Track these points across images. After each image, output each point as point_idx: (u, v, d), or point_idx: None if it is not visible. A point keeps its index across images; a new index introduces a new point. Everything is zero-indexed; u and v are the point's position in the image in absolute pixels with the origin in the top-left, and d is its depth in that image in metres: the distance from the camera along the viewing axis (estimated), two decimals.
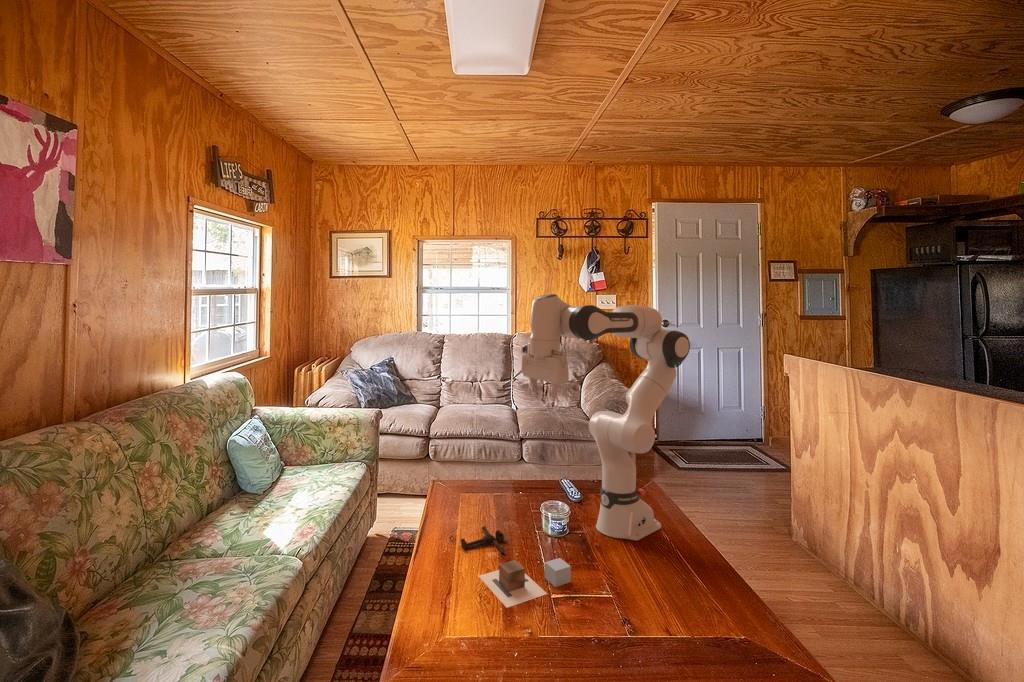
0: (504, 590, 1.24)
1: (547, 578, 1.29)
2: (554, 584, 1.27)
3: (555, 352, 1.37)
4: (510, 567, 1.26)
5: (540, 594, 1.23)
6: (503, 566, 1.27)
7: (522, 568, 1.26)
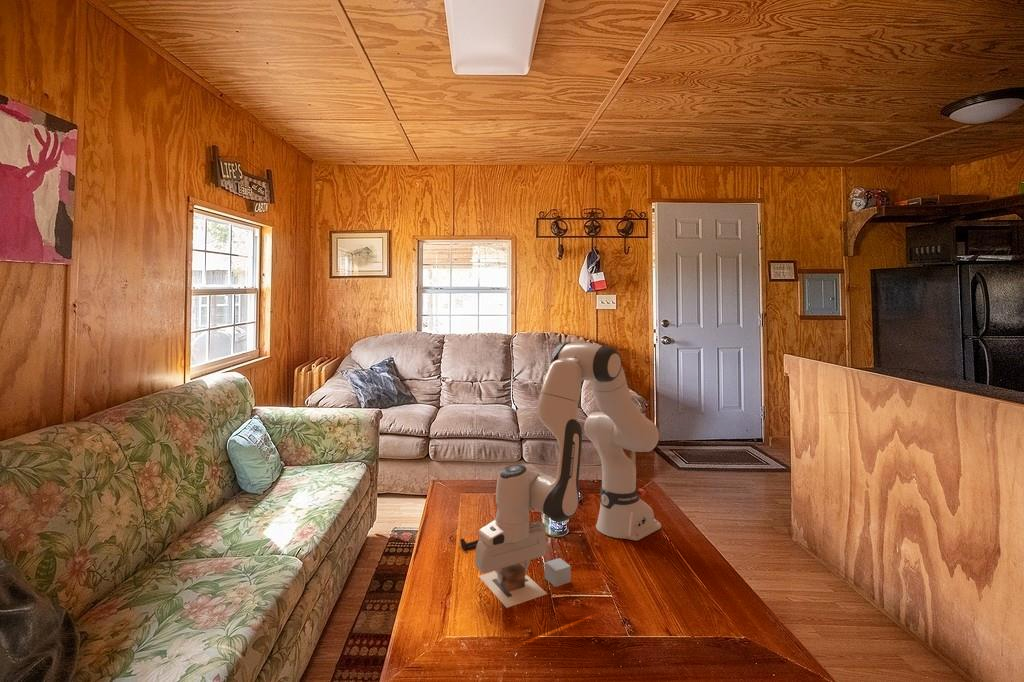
0: (504, 590, 1.24)
1: (547, 578, 1.29)
2: (554, 584, 1.27)
3: (533, 525, 1.29)
4: (510, 567, 1.26)
5: (540, 594, 1.23)
6: None
7: (522, 568, 1.26)
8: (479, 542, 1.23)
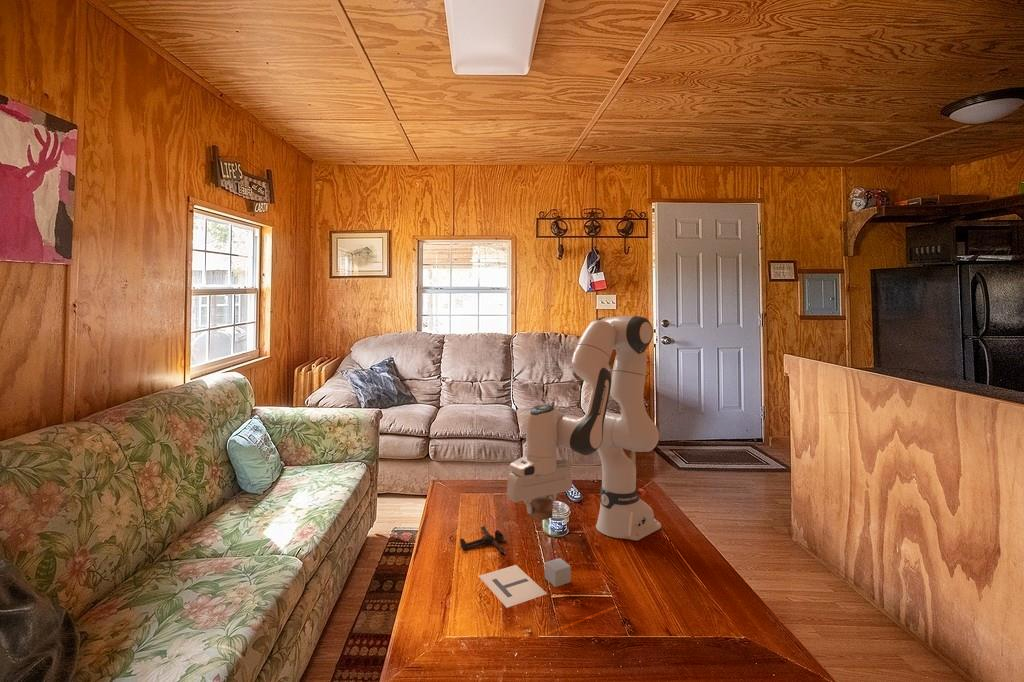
0: (504, 590, 1.24)
1: (547, 578, 1.29)
2: (554, 584, 1.27)
3: (559, 461, 1.38)
4: (538, 499, 1.36)
5: (540, 594, 1.23)
6: (532, 499, 1.36)
7: (550, 500, 1.35)
8: (510, 474, 1.33)
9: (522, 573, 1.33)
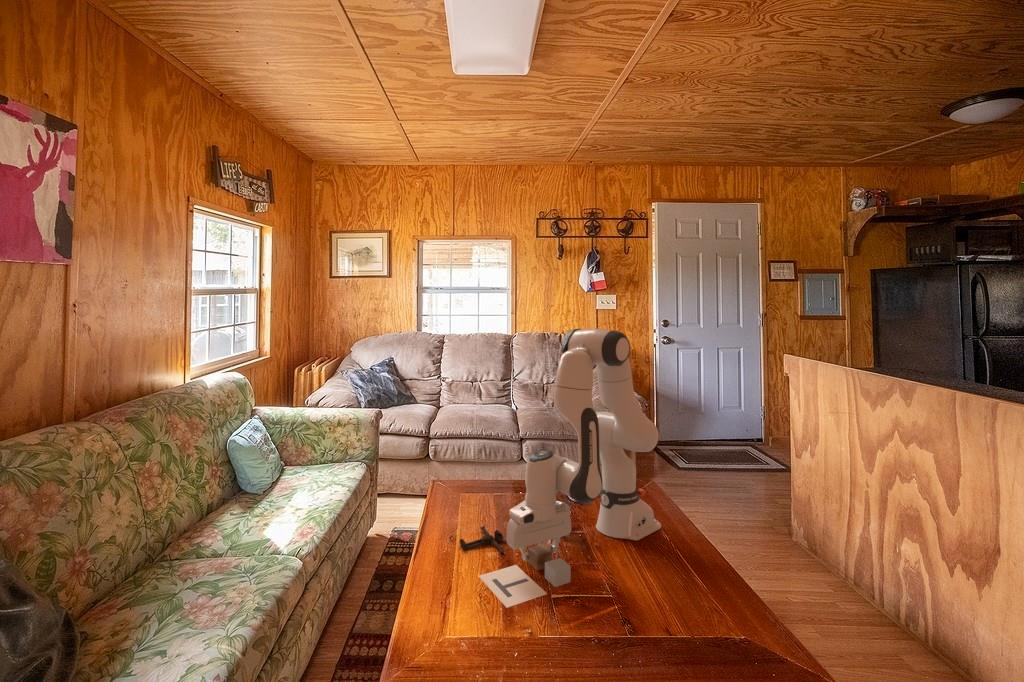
0: (504, 590, 1.24)
1: (547, 578, 1.29)
2: (554, 584, 1.27)
3: (559, 506, 1.39)
4: (538, 550, 1.37)
5: (540, 594, 1.23)
6: (531, 549, 1.37)
7: (549, 551, 1.36)
8: (510, 521, 1.33)
9: (522, 573, 1.33)
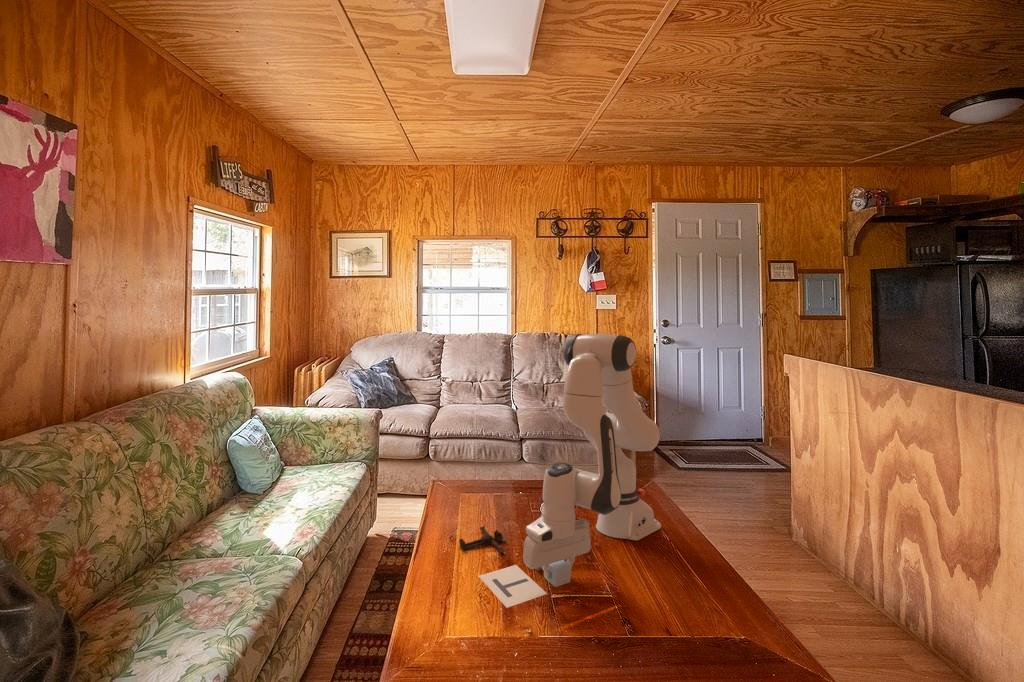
0: (504, 590, 1.24)
1: None
2: (554, 584, 1.27)
3: (578, 522, 1.31)
4: None
5: (540, 594, 1.23)
6: None
7: None
8: (527, 539, 1.26)
9: (522, 573, 1.33)
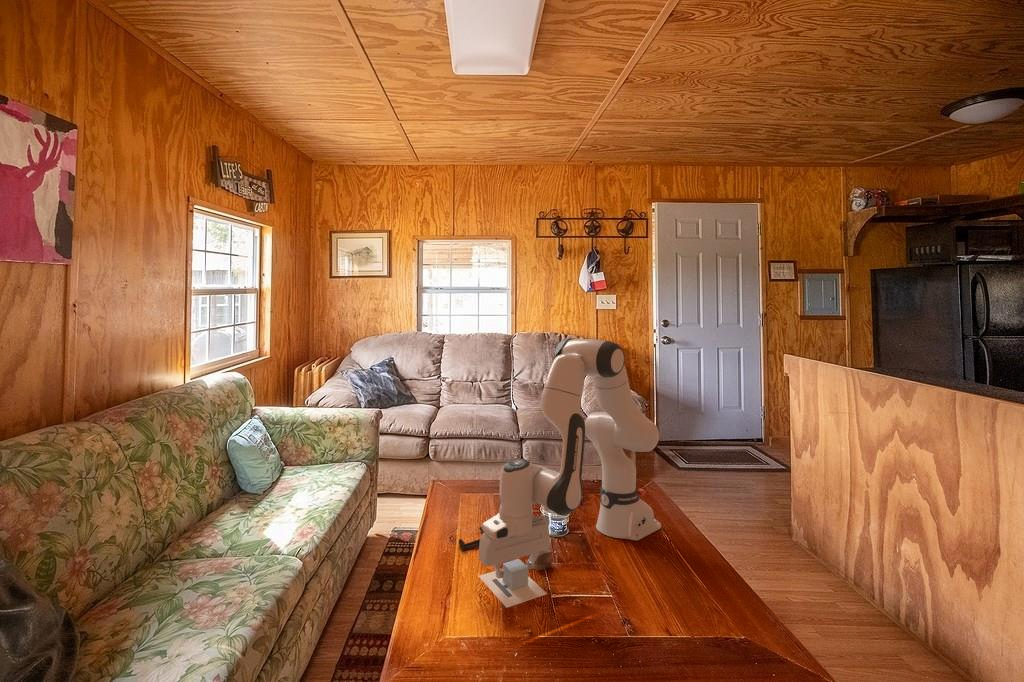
0: (504, 590, 1.24)
1: (504, 579, 1.27)
2: (511, 586, 1.25)
3: (536, 519, 1.29)
4: None
5: (540, 594, 1.23)
6: None
7: (549, 551, 1.36)
8: (483, 536, 1.24)
9: None
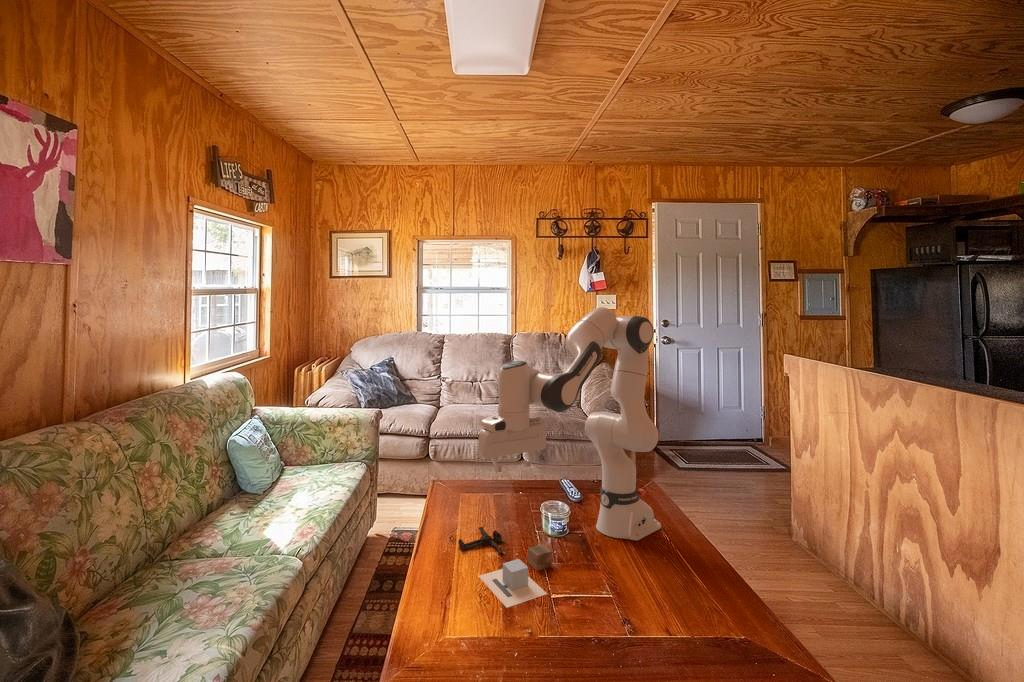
0: (504, 590, 1.24)
1: (504, 579, 1.27)
2: (511, 586, 1.25)
3: (533, 419, 1.35)
4: (538, 550, 1.37)
5: (540, 594, 1.23)
6: (531, 549, 1.37)
7: (549, 551, 1.36)
8: (482, 431, 1.29)
9: None
